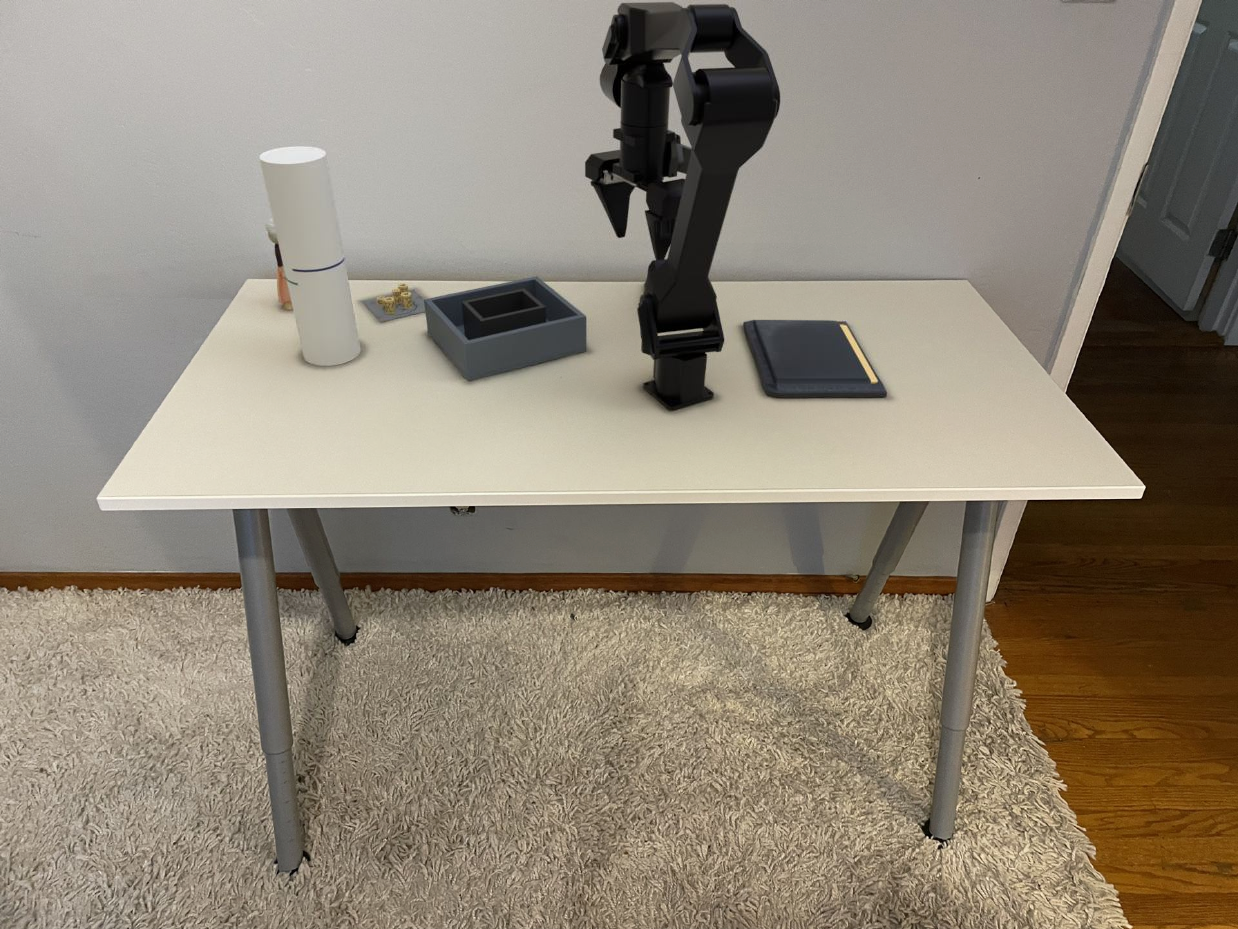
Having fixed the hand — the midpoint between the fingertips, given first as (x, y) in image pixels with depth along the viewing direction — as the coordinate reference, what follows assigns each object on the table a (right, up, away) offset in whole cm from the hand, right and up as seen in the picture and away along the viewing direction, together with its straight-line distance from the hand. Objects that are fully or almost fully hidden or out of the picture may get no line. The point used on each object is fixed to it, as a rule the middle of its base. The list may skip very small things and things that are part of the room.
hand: (640, 248), depth 109 cm
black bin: (-18, -11, +3) cm, 21 cm away
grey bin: (-18, -12, +3) cm, 22 cm away
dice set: (-35, -5, +12) cm, 37 cm away
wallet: (+22, -14, +1) cm, 27 cm away
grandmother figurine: (-49, -5, +12) cm, 51 cm away
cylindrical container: (-40, -14, 0) cm, 42 cm away
